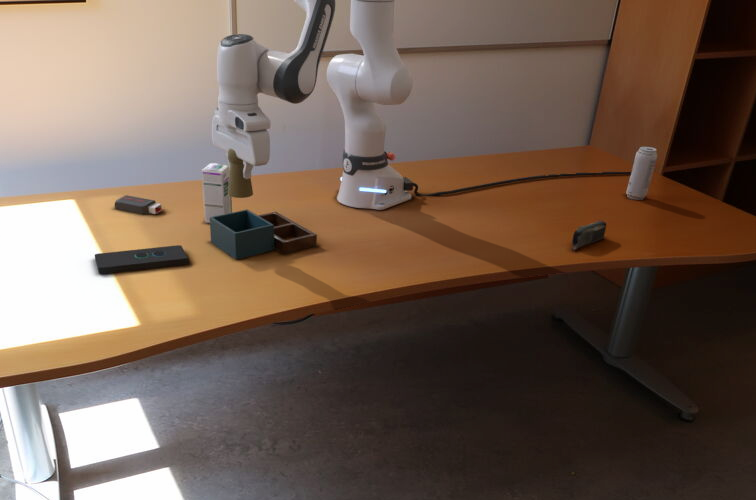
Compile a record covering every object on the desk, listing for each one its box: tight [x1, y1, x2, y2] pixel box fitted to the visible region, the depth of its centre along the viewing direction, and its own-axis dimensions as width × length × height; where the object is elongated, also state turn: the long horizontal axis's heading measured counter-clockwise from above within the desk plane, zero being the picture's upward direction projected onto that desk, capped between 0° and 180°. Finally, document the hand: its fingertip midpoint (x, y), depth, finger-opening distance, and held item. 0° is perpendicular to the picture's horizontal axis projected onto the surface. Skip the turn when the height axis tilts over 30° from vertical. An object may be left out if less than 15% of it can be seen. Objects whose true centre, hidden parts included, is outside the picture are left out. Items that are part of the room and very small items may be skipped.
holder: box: [258, 211, 318, 255], centre depth 188 cm, size 10×19×3 cm, turn 38°
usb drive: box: [114, 195, 163, 215], centre depth 200 cm, size 5×12×3 cm, turn 70°
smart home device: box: [94, 244, 189, 275], centre depth 172 cm, size 8×2×20 cm
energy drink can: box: [625, 146, 658, 201], centre depth 225 cm, size 6×6×15 cm
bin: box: [209, 209, 275, 260], centre depth 181 cm, size 11×12×7 cm
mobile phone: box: [571, 220, 607, 251], centre depth 194 cm, size 5×3×15 cm
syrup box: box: [200, 162, 233, 224], centre depth 193 cm, size 6×6×14 cm
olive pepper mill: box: [228, 149, 254, 199], centre depth 173 cm, size 6×6×11 cm
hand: (240, 174), depth 173 cm, fingers closed on olive pepper mill, 4 cm apart
